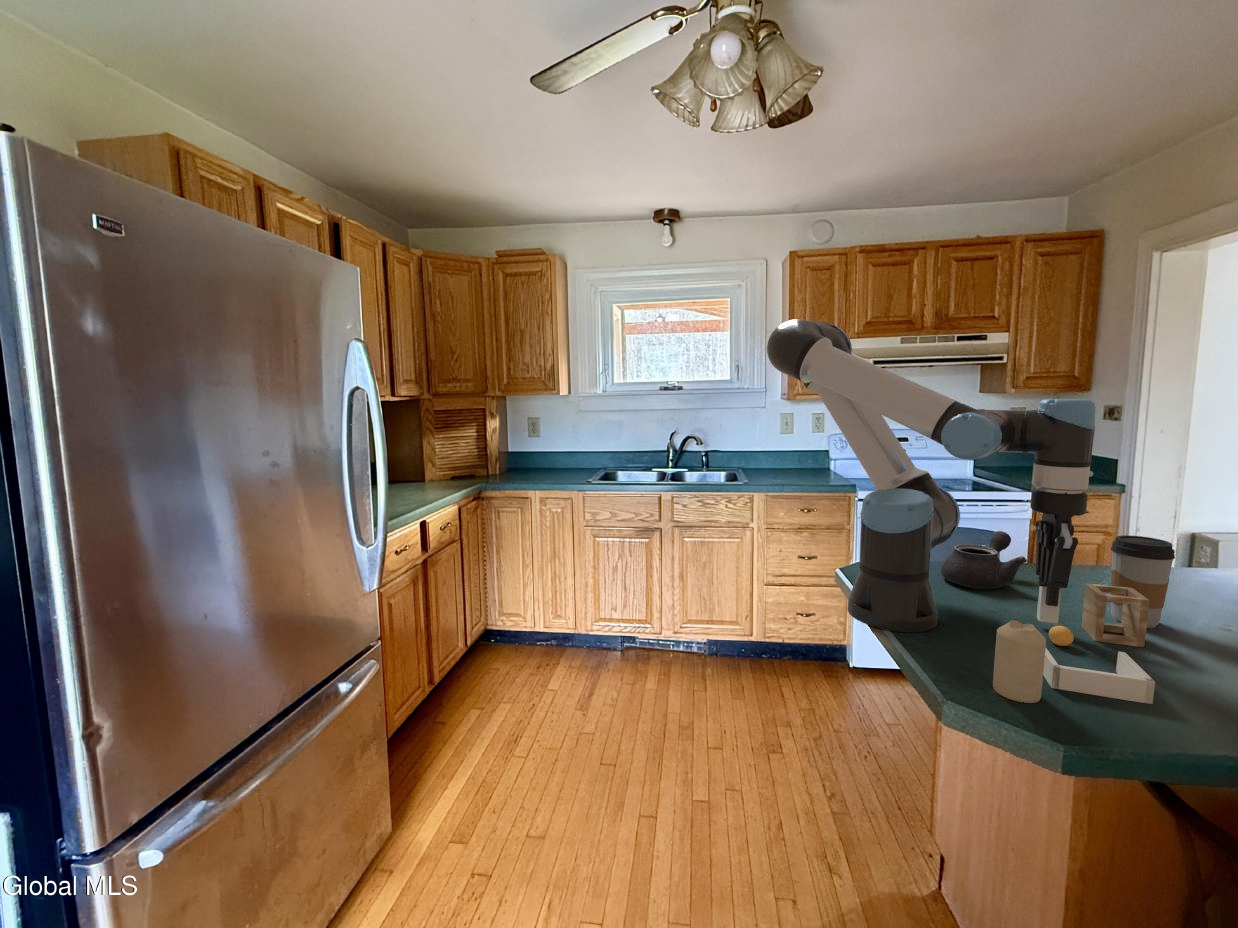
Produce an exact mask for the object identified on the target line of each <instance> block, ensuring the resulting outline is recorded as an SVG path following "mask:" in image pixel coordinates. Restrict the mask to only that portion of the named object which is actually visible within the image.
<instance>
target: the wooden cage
mask: <svg viewBox="0 0 1238 928" xmlns="http://www.w3.org/2000/svg"><path fill="white" fill-rule="evenodd" d="M1108 593H1109V594H1108ZM1111 593H1117V594H1124V596H1117V595H1111ZM1083 595H1084V596H1083V605H1082V606H1083V607H1082V614H1081V615H1082V617H1081V625H1080V627H1081V628H1082V629H1083V630H1084V631H1085V632H1086V633H1087V635H1088V636H1089V637H1090V638H1092V640H1093V641H1094V642H1102V643H1106V644H1107V643H1109V644H1115V645H1123V646H1131V647H1132V646H1133V647H1140V648H1144V647H1145V644H1146V635H1147V628H1146V627H1147V619H1148V610H1149V601H1150V600H1148V599H1147V598H1146V597H1144V596H1143V595H1141V594H1140V593H1139V592H1137V591H1136V590H1134V589H1133V588H1127V587H1117V586H1111V585H1106V584H1097V583H1096V584H1094V583H1085V586H1084V594H1083ZM1111 602H1114V603H1123V610H1122V619H1121V622H1120V624H1116V623H1108V622H1105V621H1106V610H1107V603H1111ZM1104 632H1108V633H1104ZM1109 632H1110V633H1111V634H1110V633H1109ZM1113 633H1118V634H1122V635H1118V634H1113Z"/></svg>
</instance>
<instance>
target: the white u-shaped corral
mask: <svg viewBox="0 0 1238 928" xmlns="http://www.w3.org/2000/svg"><path fill="white" fill-rule="evenodd" d="M1117 651H1118V650H1117ZM1115 672H1116V673H1113V672H1108V671H1100V670H1093V669H1089V668H1088V669H1086V668H1079V667H1075V666H1065V665H1060V664H1058V662H1057V661H1056V659H1055V658H1054V657H1053V655H1052V654H1051V652H1050V651H1049V650H1048V648H1046V649H1045V660H1044V671H1043V678H1044V679H1045V680H1046V682H1047V684H1048V686H1050V688H1051V689H1056V690H1062V691H1068V692H1073V693H1074V692H1075V693H1081V694H1087V695H1092V696H1098V697H1105V698H1111V699H1118V700H1124V701H1131V702H1134V703H1136V702H1137V703H1143V704H1149V705H1153V704H1154V694H1155V686H1156V681H1155V680H1154V678H1152V677H1151V676H1150V675H1149V674H1148V673H1147V672H1146V671H1145V670H1144V669H1142V667H1141V666H1139V664H1138V663H1136V662H1135V660H1134V659H1132V658H1131V657H1130V656H1129V654H1127V652H1124V651H1118V652H1117V658H1116V668H1115Z"/></svg>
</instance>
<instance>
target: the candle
mask: <svg viewBox="0 0 1238 928" xmlns="http://www.w3.org/2000/svg"><path fill="white" fill-rule="evenodd" d="M995 637H996V640H995V651H994V661H993V662H994V664H993V677H992V687H993V688H992V689H993V690H994V691H995V692H996V693H997V694H999V695H1000V696H1002V697H1004V698H1007V699H1008V700H1011V701H1015V702H1019V703H1023V702H1024V703H1025V704H1033V703H1034V704H1035V703H1039V702H1040V700H1041V699H1042V694H1043V693H1042V690H1043V682H1044V679H1043V678H1044V676H1043V671H1044V660H1045V649H1047V646H1046V645H1047V639H1046V637H1045V636H1044V635H1043V634H1042V633H1041V632H1040V631H1039V630H1038V629H1037V628H1036V627H1035V625H1033V624H1032V623H1025V624H1024V623H1021V622H1020V621H1018V620H1015V619H1014V620H1013V619H1012V620H1010V621H1009V622H1007V623H1005V624H1003V625H1001V626H1000V627H998V628H997V629H996V636H995Z"/></svg>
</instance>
